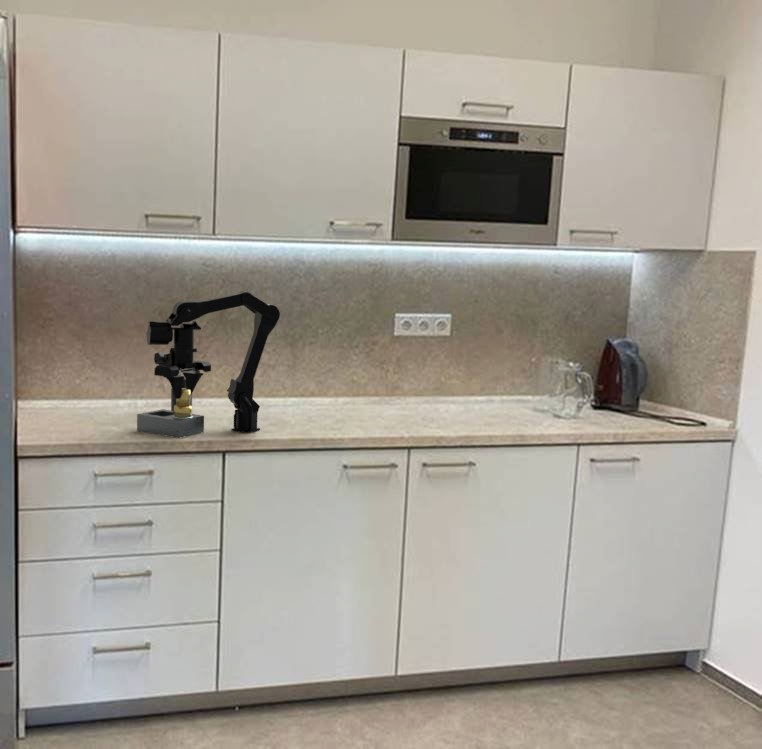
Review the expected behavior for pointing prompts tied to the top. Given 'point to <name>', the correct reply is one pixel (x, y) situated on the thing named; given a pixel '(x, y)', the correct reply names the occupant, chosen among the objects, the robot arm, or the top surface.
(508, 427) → the top surface
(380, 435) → the top surface
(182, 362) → the robot arm
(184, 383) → the supplement bottle
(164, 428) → the housing
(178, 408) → the brass cap
